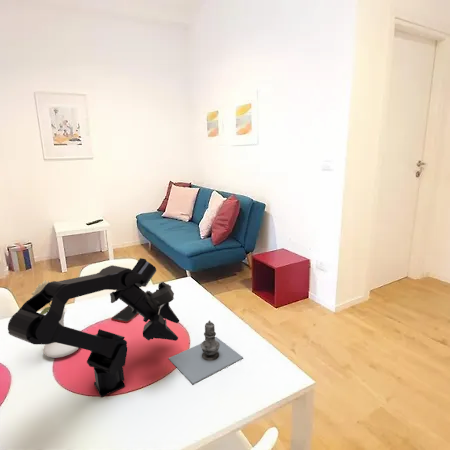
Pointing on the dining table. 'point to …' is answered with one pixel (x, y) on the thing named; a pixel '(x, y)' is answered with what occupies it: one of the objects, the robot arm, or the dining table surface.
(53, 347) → the flower in vase
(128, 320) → the cell phone
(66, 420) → the dining table surface
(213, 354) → the dark grey chess piece
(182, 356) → the mat
